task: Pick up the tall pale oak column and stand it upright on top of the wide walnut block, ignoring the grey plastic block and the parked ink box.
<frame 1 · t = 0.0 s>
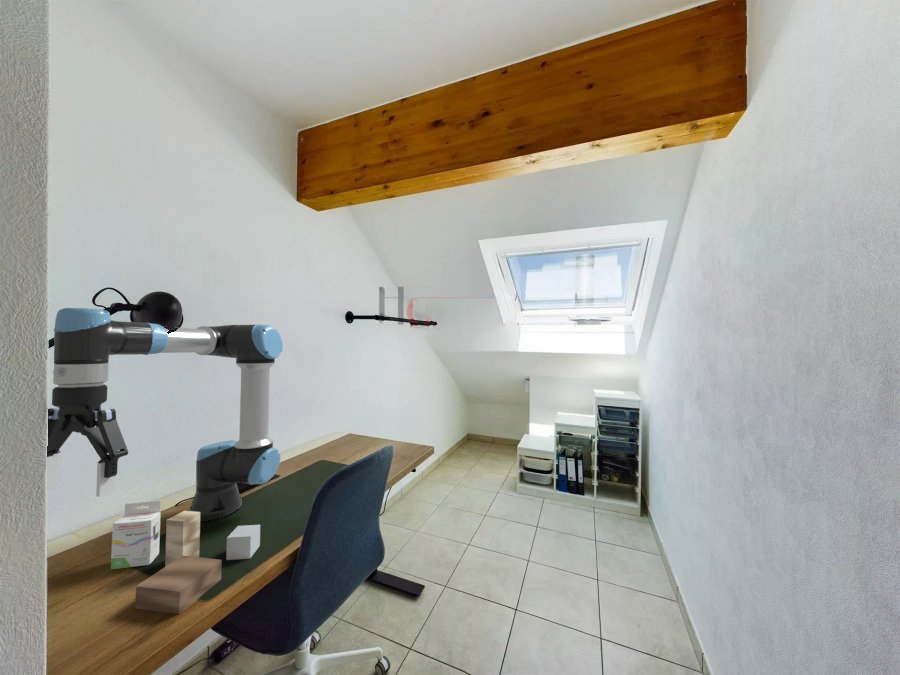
hand: (77, 491, 68), 28 cm above the table, fingers open, 13 cm apart
oak column: (182, 561, 90), on the table
grey plastic block: (243, 552, 94), on the table
walnut base block: (180, 594, 78), on the table
ink box: (135, 562, 89), on the table
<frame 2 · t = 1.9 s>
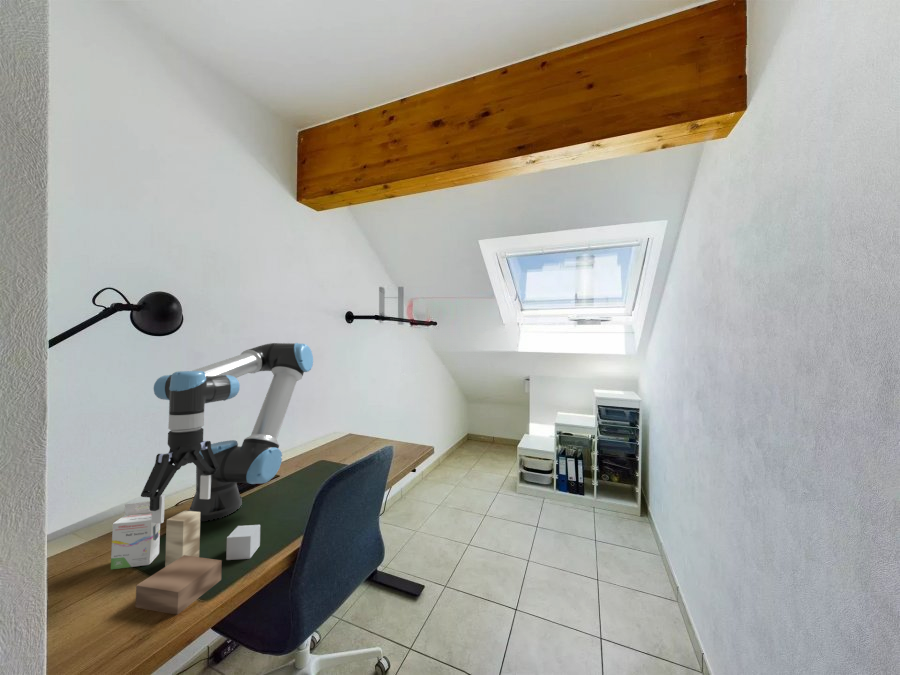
hand: (183, 509, 90), 14 cm above the table, fingers open, 13 cm apart
nothing on the table moved.
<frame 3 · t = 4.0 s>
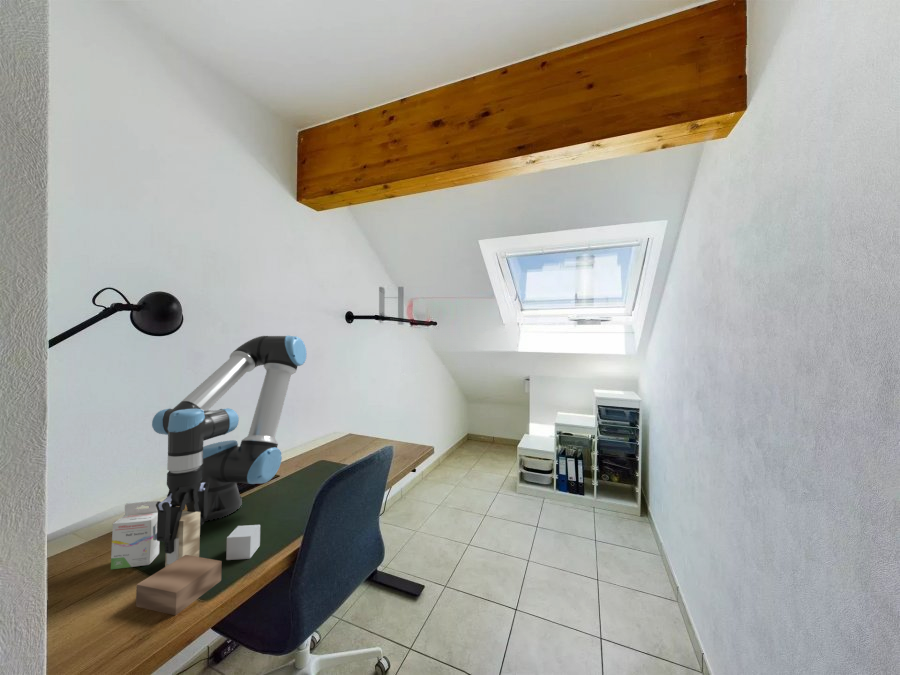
hand: (182, 556, 90), 1 cm above the table, fingers closed on oak column, 5 cm apart
oak column: (182, 561, 90), on the table, touching gripper
everything else where it was.
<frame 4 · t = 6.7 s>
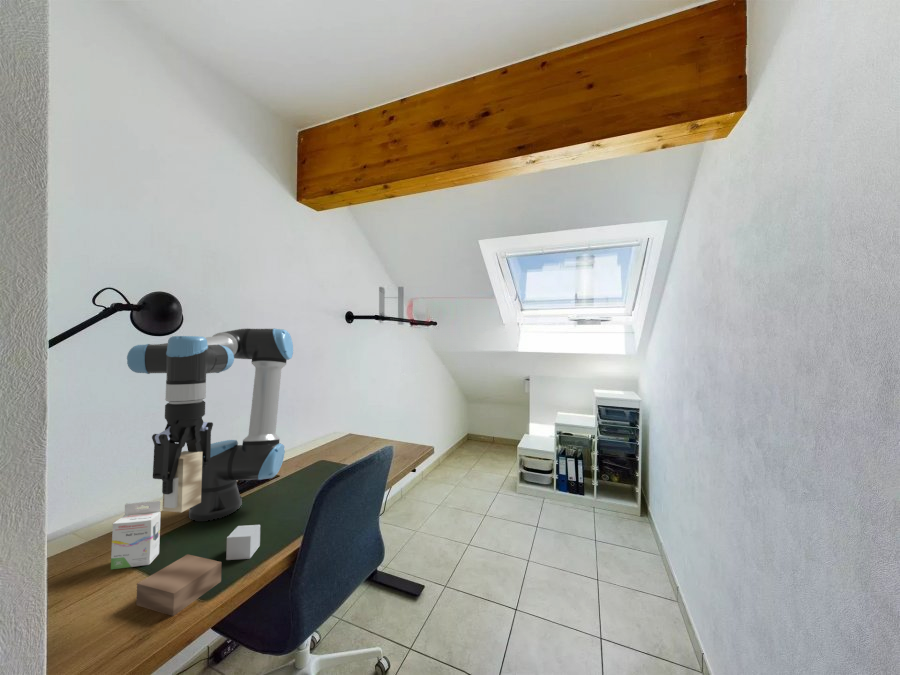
hand: (182, 501, 79), 21 cm above the table, fingers closed on oak column, 5 cm apart
oak column: (182, 506, 79), point 20 cm above the table, touching gripper
everything else where it was.
when the fingers open (8 cm above the table, at t = 9.7 s): oak column drops 2 cm, point 5 cm above the table.
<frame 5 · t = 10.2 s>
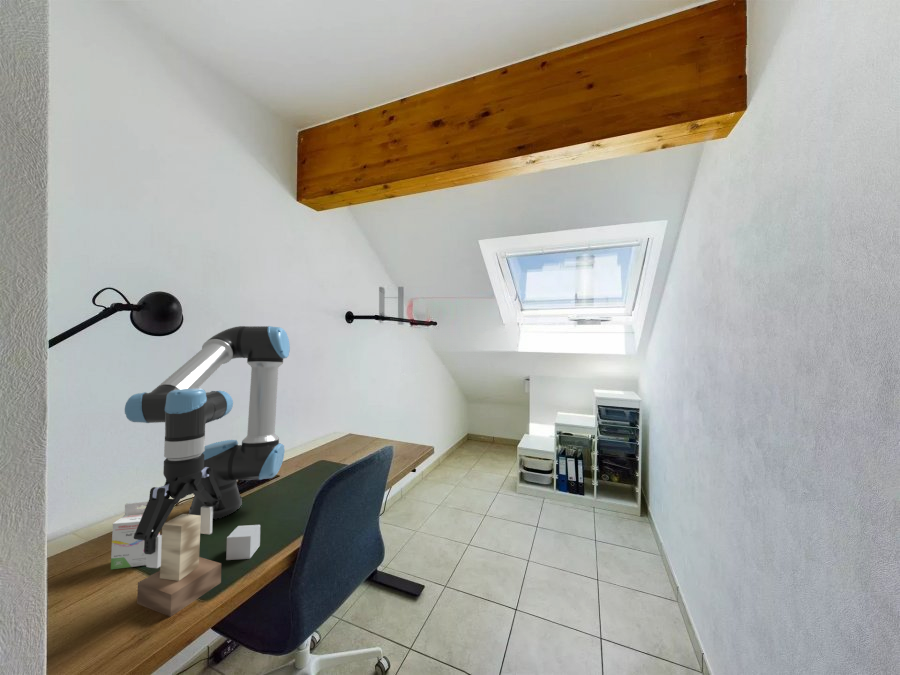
hand: (182, 548, 79), 10 cm above the table, fingers open, 12 cm apart
oak column: (179, 572, 78), point 5 cm above the table
everything else where it was.
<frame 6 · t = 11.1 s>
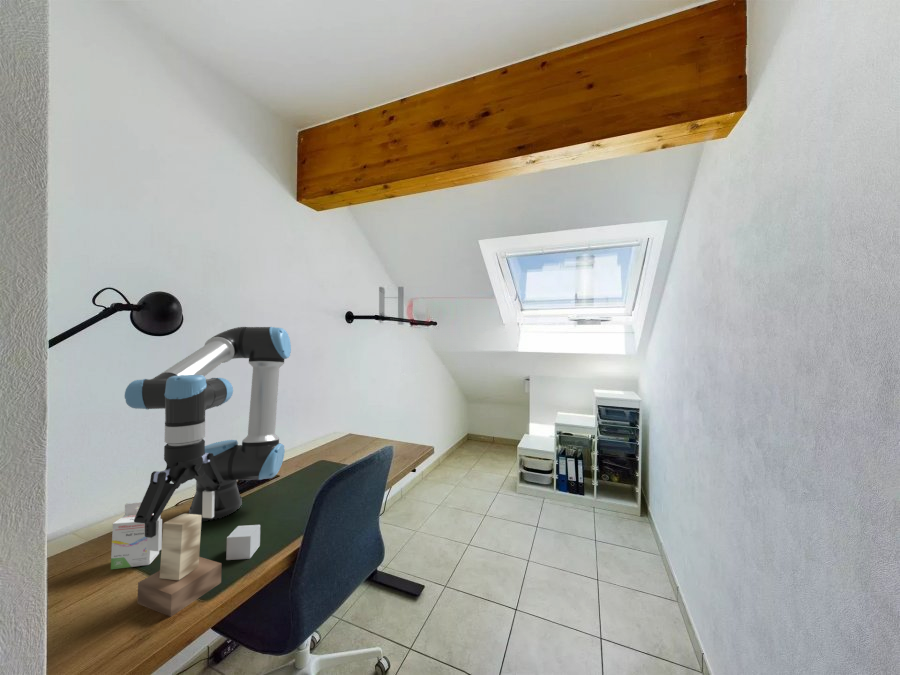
hand: (183, 532, 79), 14 cm above the table, fingers open, 13 cm apart
oak column: (179, 572, 78), point 5 cm above the table, touching walnut base block
walnut base block: (181, 594, 78), on the table, touching oak column
everything else where it was.
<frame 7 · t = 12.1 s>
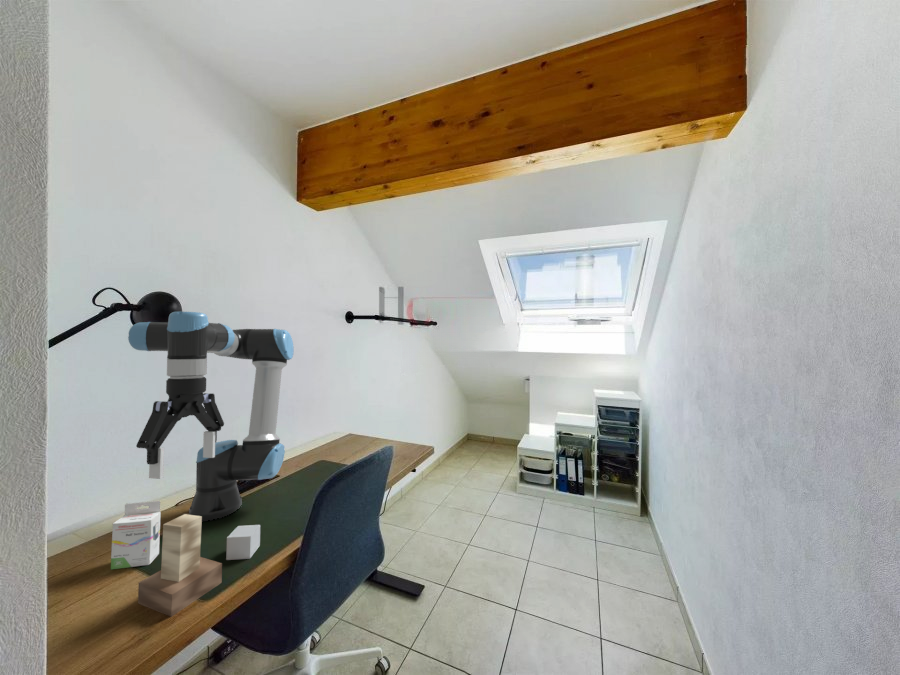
hand: (184, 466, 80), 29 cm above the table, fingers open, 13 cm apart
nothing on the table moved.
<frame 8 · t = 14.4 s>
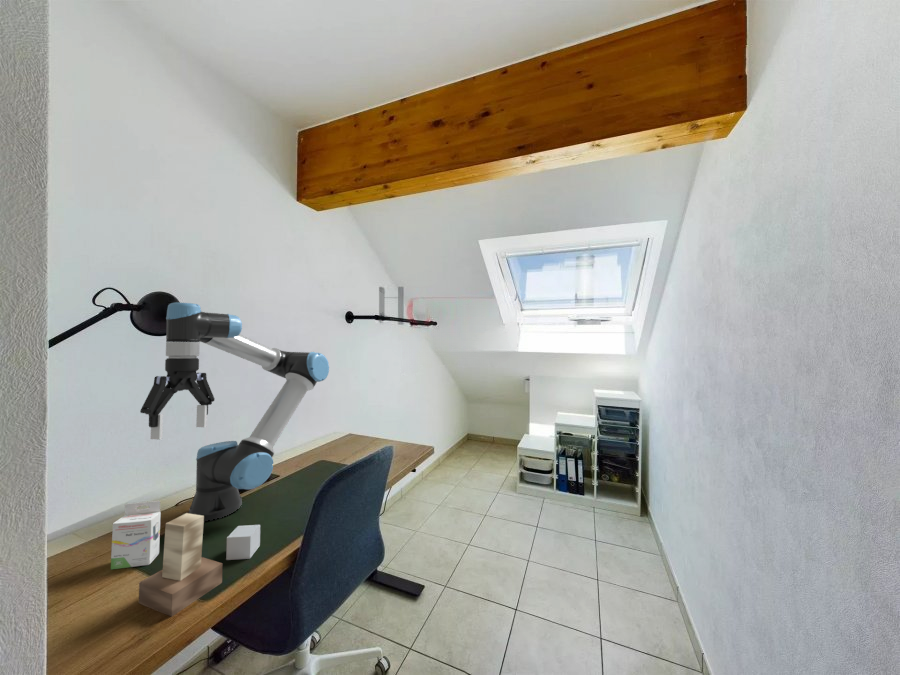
hand: (180, 432, 95), 33 cm above the table, fingers open, 13 cm apart
nothing on the table moved.
at the end: oak column inside the target area on the walnut base block (0.2 cm from its centre), point 5.1 cm above the walnut base block's base; oak column tilted 2°; the gripper is holding nothing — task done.
